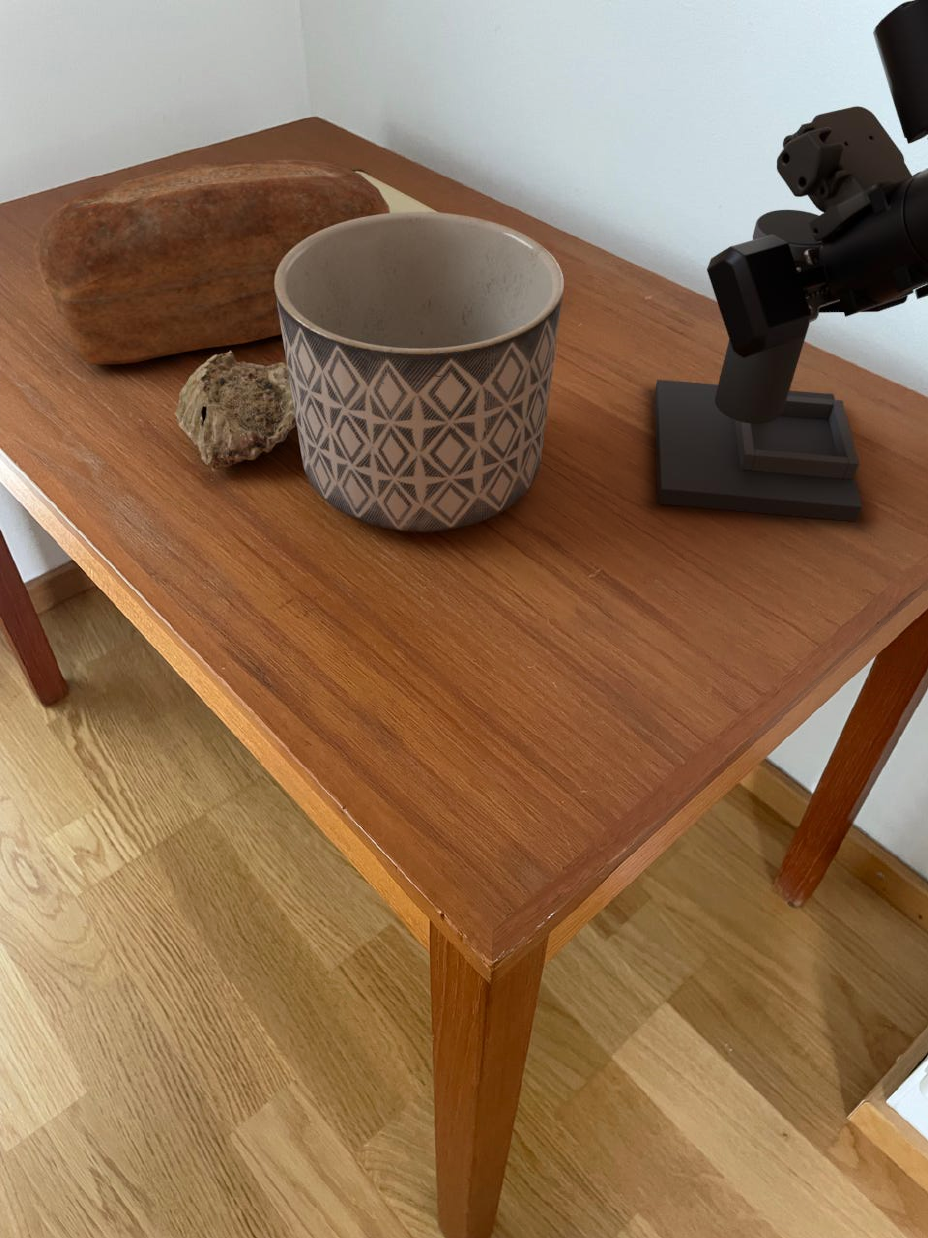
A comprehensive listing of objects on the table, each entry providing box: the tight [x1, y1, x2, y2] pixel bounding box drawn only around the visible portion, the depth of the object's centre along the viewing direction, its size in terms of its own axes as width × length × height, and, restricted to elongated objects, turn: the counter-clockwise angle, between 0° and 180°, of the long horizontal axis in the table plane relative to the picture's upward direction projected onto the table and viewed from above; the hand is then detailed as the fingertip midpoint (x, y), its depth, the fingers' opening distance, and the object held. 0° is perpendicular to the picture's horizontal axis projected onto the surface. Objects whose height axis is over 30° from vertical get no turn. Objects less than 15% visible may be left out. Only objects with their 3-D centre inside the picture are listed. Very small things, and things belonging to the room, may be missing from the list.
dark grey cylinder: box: [715, 209, 822, 424], centre depth 67 cm, size 5×5×14 cm
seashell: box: [173, 350, 297, 473], centre depth 76 cm, size 11×7×10 cm
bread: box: [33, 159, 390, 366], centre depth 86 cm, size 12×31×14 cm, turn 112°
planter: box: [274, 211, 565, 533], centre depth 70 cm, size 19×19×16 cm
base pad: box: [654, 379, 863, 522], centre depth 78 cm, size 15×15×3 cm
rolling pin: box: [347, 167, 438, 213], centre depth 99 cm, size 32×6×5 cm, turn 39°
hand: (758, 313), depth 68 cm, fingers closed on dark grey cylinder, 5 cm apart
